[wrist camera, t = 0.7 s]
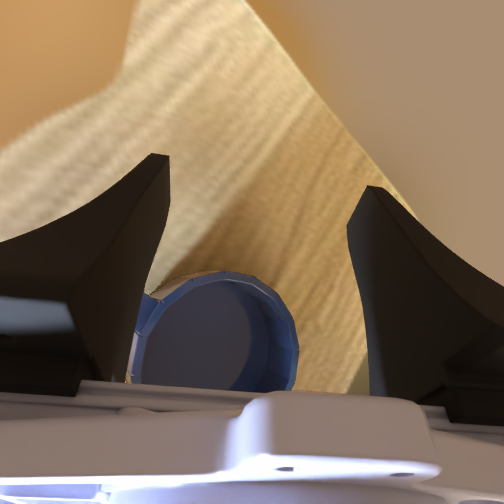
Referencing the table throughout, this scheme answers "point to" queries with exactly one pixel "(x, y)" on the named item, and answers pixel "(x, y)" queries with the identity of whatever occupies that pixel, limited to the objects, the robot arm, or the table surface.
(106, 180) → the table surface
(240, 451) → the robot arm
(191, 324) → the blue measuring scoop
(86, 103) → the table surface
